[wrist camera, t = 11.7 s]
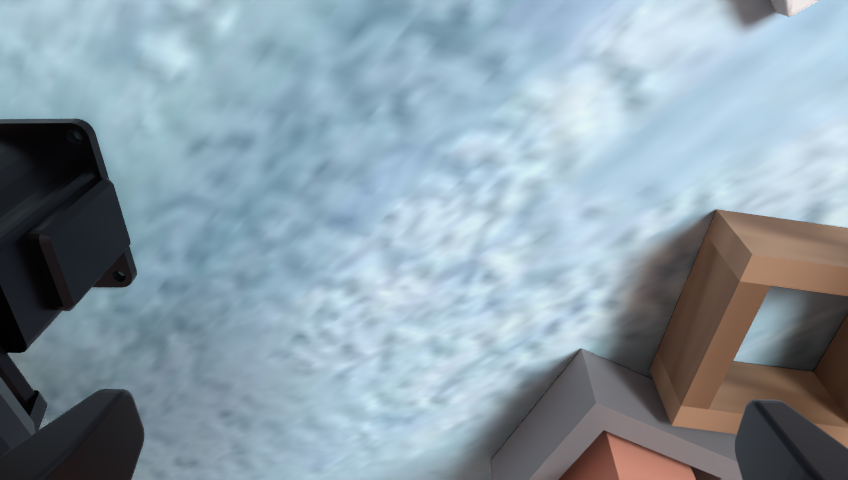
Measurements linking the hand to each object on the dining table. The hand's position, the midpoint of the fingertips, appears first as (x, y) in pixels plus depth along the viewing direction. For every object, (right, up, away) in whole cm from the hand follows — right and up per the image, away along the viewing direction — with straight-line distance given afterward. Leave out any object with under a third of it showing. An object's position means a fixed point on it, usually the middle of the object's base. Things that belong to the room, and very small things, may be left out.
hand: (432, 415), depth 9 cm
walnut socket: (+13, 0, +14) cm, 20 cm away
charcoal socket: (+8, -6, +18) cm, 21 cm away
